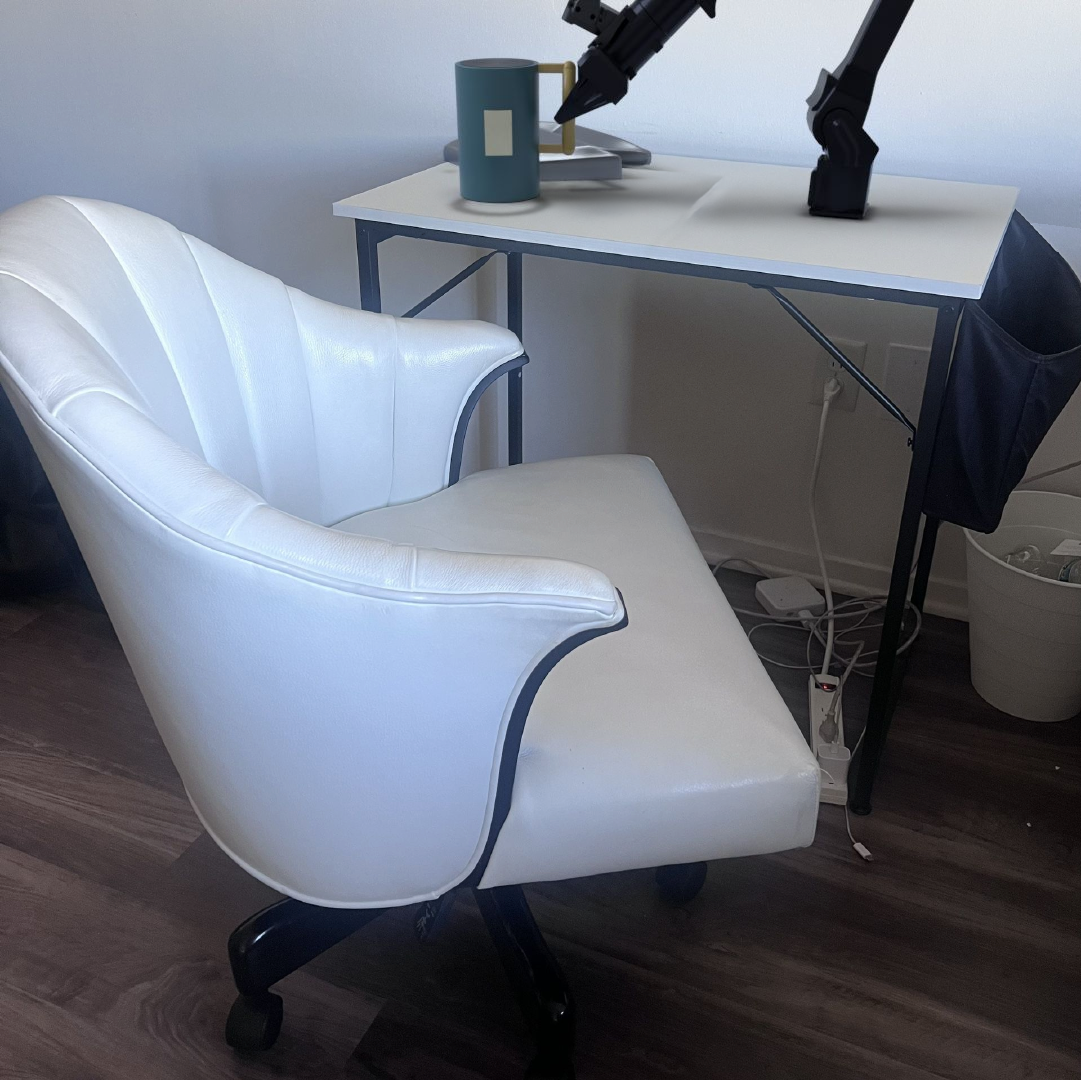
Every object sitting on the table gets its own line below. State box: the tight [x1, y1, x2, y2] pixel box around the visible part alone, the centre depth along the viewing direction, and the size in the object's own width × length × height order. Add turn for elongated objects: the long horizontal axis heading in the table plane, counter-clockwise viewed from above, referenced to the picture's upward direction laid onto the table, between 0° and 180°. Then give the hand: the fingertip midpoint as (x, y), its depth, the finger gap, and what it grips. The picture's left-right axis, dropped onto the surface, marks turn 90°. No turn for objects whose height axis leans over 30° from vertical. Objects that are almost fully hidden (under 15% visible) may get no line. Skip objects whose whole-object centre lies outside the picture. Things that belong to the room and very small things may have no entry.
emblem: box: [442, 120, 653, 182], centre depth 146 cm, size 28×5×28 cm
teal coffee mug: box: [454, 57, 577, 204], centre depth 125 cm, size 14×10×15 cm
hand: (557, 119), depth 125 cm, fingers closed
